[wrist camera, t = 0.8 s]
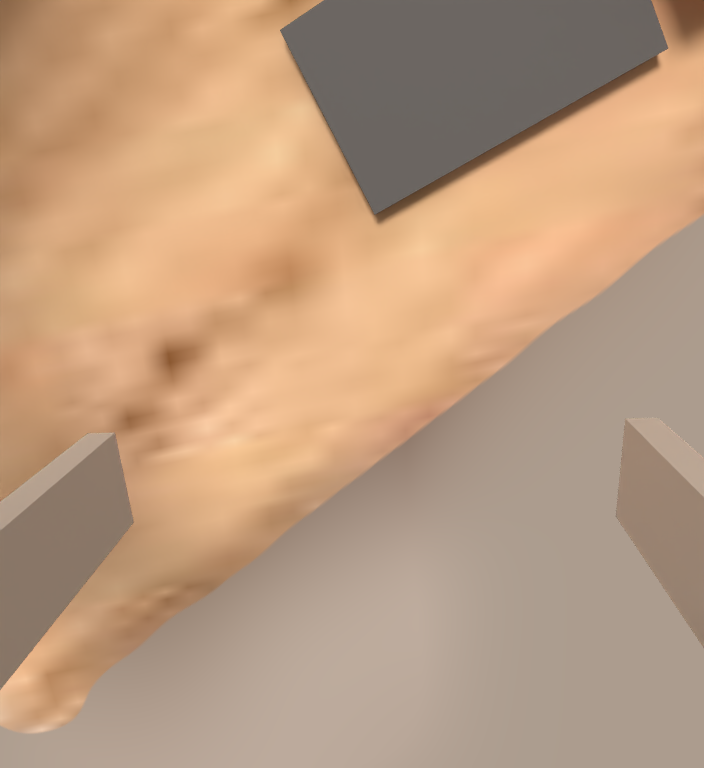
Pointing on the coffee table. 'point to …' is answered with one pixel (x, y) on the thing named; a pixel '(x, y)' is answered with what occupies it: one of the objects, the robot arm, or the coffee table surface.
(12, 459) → the coffee table surface
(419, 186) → the mat
